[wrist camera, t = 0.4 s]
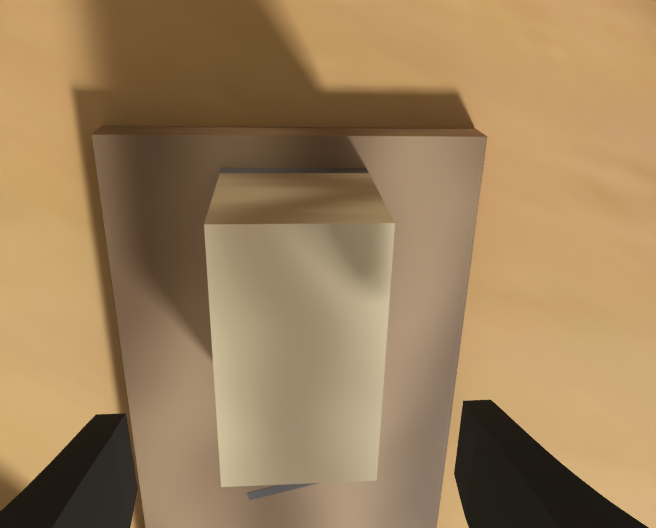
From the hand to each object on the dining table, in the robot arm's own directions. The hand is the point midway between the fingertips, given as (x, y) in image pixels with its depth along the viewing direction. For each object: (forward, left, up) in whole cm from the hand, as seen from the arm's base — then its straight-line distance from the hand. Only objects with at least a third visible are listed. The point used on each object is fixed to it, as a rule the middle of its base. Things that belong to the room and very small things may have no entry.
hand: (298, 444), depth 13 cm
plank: (0, +6, -9) cm, 11 cm away
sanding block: (0, 0, -8) cm, 8 cm away
